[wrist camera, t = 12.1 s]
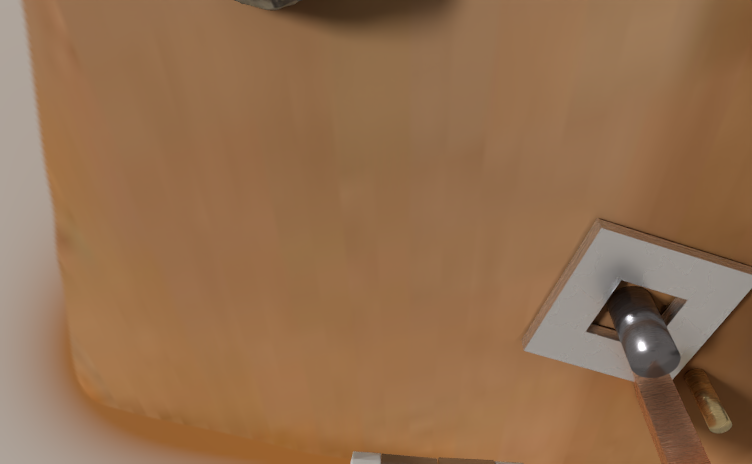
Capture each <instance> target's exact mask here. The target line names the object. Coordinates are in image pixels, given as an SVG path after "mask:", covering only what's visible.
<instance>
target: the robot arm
mask: <svg viewBox="0 0 752 464" xmlns="http://www.w3.org/2000/svg"><path fill="white" fill-rule="evenodd" d="M351 464H523V463H517V462H495V461H493V460H478V459H459V458H438V462H437V459H436V458H428V457H416V456H404V455H392V454H382V459H381V453H370V452H355V451H353V455H352V459H351Z"/></svg>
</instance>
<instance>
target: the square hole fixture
mask: <svg viewBox="0 0 752 464" xmlns="http://www.w3.org/2000/svg"><path fill="white" fill-rule="evenodd" d="M621 280H623V281H626V282H629V283H633V284H636V285H639V286H643V287H646V288H649V289H653V290H656V291H659V292H663V293H666V294H669V295H672V296H676V298H675V299H674V300H673V301H672V303H671V304H670V305H669V307H668V308H667V309H666V310H665V312H664V313H663V314H662V316H661V317H662V319H663V321H664V323H665V325H666V327H667V329H668V331H669V333H670V335H671V337H672V339H673V341H674V343H675V345H676V347H677V349H678V351H679V353H680V356H681V359H680V363H679V365H678V366H677V368H676V369H675V370H674V371H672V372H671V373H669V374H667V375H665V376H662V377H658V378H644V377H641V376H638V375H637V374H635V373H634V372H633V371H632V369H631V367H630V365H629V362H628V360H627V357H626V354H625V352H624V349H623V347H622V344H621V342H620V339H619V336H618V334H617V331H615V330H611V329H608V328H605V327H601V326H598V325H594V324H591V323H592V322H593V320H594V319H595V317H596V316H597V314H598V313H599V311H600V310H601V309H602V307H603V306H604V304H605V303H606V301H607V300H608V299H609V297H610V296H611V294H612V293H613V291H614V290H615V289H616V287H617V286H618V284H619V283H620V281H621ZM751 289H752V267H751V266H747V265H744V264H741V263H738V262H735V261H732V260H728V259H725V258H722V257H719V256H716V255H712V254H709V253H706V252H703V251H700V250H696V249H693V248H690V247H687V246H684V245H680V244H677V243H674V242H671V241H668V240H664V239H661V238H658V237H655V236H652V235H648V234H645V233H642V232H639V231H636V230H632V229H629V228H626V227H623V226H620V225H616V224H613V223H610V222H607V221H604V220H601V219H597V220H596V221H595V223H594V224H593V226H592V228H591V229H590V231H589V232H588V234H587V236H586V237H585V239H584V240H583V242H582V244H581V245H580V247H579V248H578V250H577V252H576V253H575V255H574V256H573V258H572V260H571V261H570V263H569V265H568V266H567V268H566V269H565V271H564V273H563V274H562V276H561V277H560V279H559V281H558V282H557V284H556V285H555V287H554V289H553V290H552V292H551V293H550V295H549V297H548V298H547V300H546V302H545V303H544V305H543V306H542V308H541V310H540V311H539V313H538V314H537V316H536V318H535V319H534V321H533V322H532V324H531V326H530V327H529V329H528V330H527V332H526V334H525V335H524V337H523V339H522V344H523V349H524V351H527V352H530V353H534V354H538V355H541V356H545V357H548V358H552V359H555V360H559V361H562V362H566V363H569V364H573V365H577V366H580V367H584V368H587V369H591V370H594V371H598V372H601V373H605V374H608V375H612V376H615V377H619V378H623V379H626V380H630V381H633V383H634V386H635V390H636V394H637V398H638V401H639V405H640V407H641V410H642V413H643V415H644V418H645V421H646V423H647V426H648V428H649V431H650V434H651V436H652V439H653V442H654V444H655V447H656V450H657V452H658V455H659V457H660V460H661V463H662V464H711V463H710V461H709V459H708V457H707V454H706V452H705V450H704V448H703V446H702V443H701V441H700V439H699V437H698V435H697V433H696V430H695V428H694V426H693V424H692V422H691V419H690V417H689V415H688V413H687V411H686V408H685V406H684V404H683V402H682V400H681V398H680V395H679V393H678V391H677V389H676V387H675V384H674V382H673V379H674V377H675V376H676V375H677V374H678V373H679V372H680V371H681V369H682V368H683V367H684V366H685V365H686V364H687V362H688V361H689V360H690V359H691V358H692V357H693V356H694V354H695V353H696V352H697V351H698V350H699V349H700V347H701V346H702V345H703V344H704V343H705V342H706V341H707V339H708V338H709V337H710V336H711V335H712V334H713V332H714V331H715V330H716V329H717V328H718V327H719V326H720V324H721V323H722V322H723V321H724V320H725V319H726V317H727V316H728V315H729V314H730V313H731V312H732V311H733V309H734V308H735V307H736V306H737V305H738V304H739V302H740V301H741V300H742V299H743V298H744V297H745V295H746V294H747V293H748V292H749V291H750V290H751Z"/></svg>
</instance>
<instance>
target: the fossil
mask: <svg viewBox="0 0 752 464" xmlns="http://www.w3.org/2000/svg"><path fill="white" fill-rule="evenodd" d="M235 1H238V2H240V3H242V4H247V5H251V6H255V7H259V8H262V9H266V10H278V9H281V8H283V7H285V6H290V5H295V4H296V3H297V2H298V1H302V0H235Z"/></svg>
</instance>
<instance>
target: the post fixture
mask: <svg viewBox="0 0 752 464" xmlns="http://www.w3.org/2000/svg"><path fill="white" fill-rule="evenodd" d="M607 308H608V311H609V313H610V316H611V318H612V321H613V324H614V326H615V329H616V331H617V334H618V336H619V339H620V342H621V344H622V347H623V349H624V352H625V354H626V357H627V360H628V362H629V365H630V367H631V369H632V371H633V372H634V373H635V374H637V375H638V376H641V377H644V378H658V377H662V376H665V375H667V374H669V373H671V372H672V371H674V370H675V369H676V368H677V366H678V365H679V363H680V359H681V356H680V353H679V351H678V349H677V347H676V345H675V343H674V341H673V339H672V337H671V335H670V333H669V331H668V329H667V327H666V325H665V323H664V321H663V319H662V317H661V315H660V313H659V311H658V309H657V307H656V305H655V302H654V300H653V298H652V296H651V294H650V293H649V292H648V291H647V290H646V289H644V288H641V287H637V286H630V287H625V288H622V289H619V290H618V291H616V292H615V293H613V294H612V295H611V297H610V298H609V300H608V303H607ZM685 380H686V382H687V384H688V386H689V388H690V390H691V393H692V395H693V397H694V399H695V401H696V403H697V405H698V407H699V409H700V411H701V413H702V415H703V417H704V420H705V422H706V424H707V426H708V428H709V430H710V431H711V432H713V433H724V432H726V431H728V430H729V429H730V428H731V427H732V423H731V421H730V419H729V417H728V415H727V413H726V411H725V409H724V407H723V405H722V403H721V402H720V400H719V398H718V396H717V394H716V392H715V390H714V388H713V386H712V384H711V383H710V381H709V379H708V377H707V375H706V373H705V371H704V370H702V369H692V370H690V371H688V372H687V373H686V374H685Z"/></svg>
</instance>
